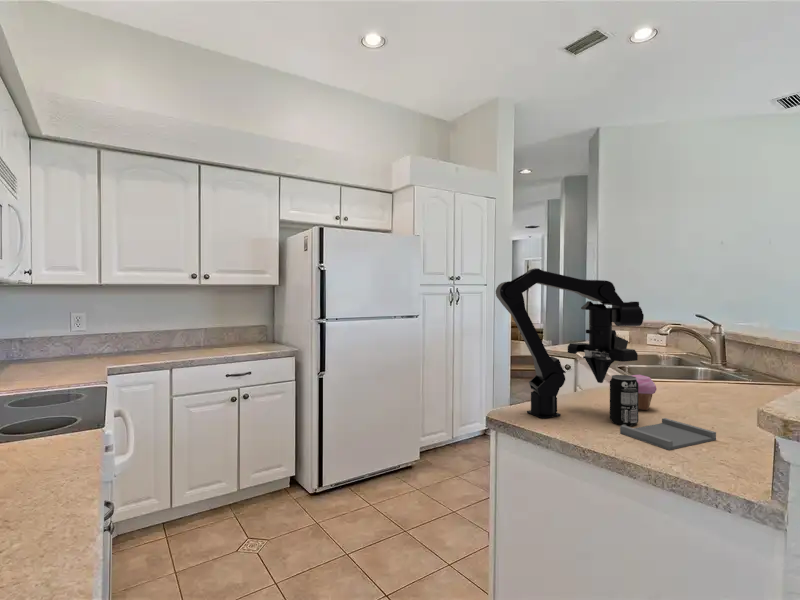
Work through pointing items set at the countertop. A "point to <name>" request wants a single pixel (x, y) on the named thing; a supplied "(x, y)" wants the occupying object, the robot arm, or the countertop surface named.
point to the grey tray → (670, 434)
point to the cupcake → (644, 391)
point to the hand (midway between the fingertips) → (600, 382)
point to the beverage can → (624, 400)
